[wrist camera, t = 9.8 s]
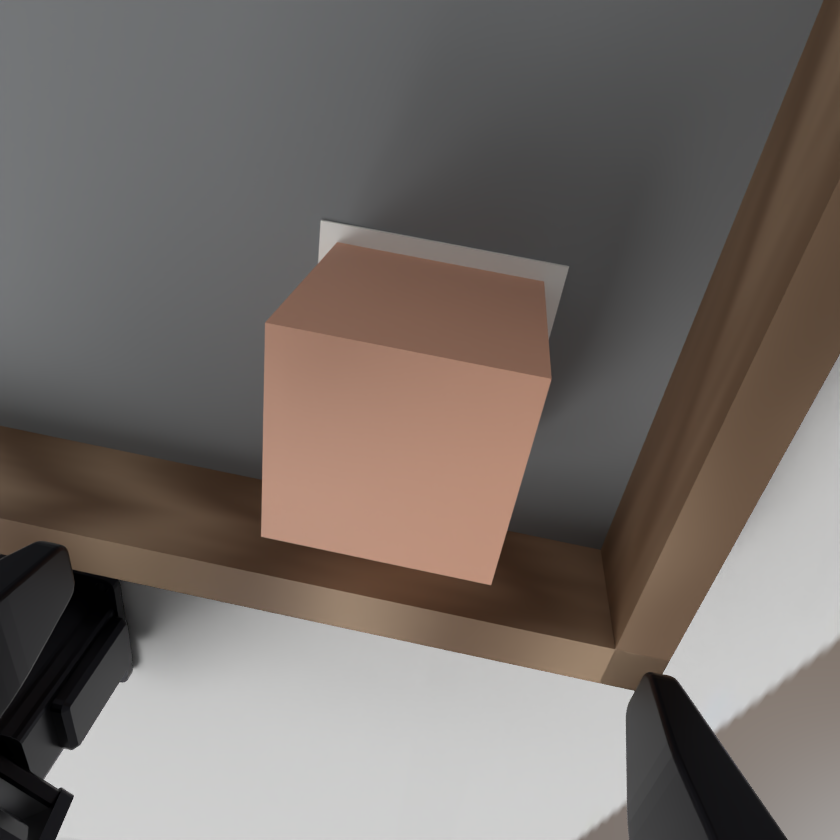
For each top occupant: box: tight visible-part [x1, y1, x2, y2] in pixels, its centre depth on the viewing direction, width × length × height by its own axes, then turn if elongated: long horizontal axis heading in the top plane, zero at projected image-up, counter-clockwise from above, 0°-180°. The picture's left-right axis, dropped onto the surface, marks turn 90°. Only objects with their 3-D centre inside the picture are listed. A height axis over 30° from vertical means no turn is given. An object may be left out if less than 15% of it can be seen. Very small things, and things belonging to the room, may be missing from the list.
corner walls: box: [0, 0, 840, 691], centre depth 15 cm, size 24×20×4 cm
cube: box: [261, 242, 552, 585], centre depth 16 cm, size 6×6×6 cm
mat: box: [0, 0, 823, 550], centre depth 17 cm, size 24×20×1 cm
